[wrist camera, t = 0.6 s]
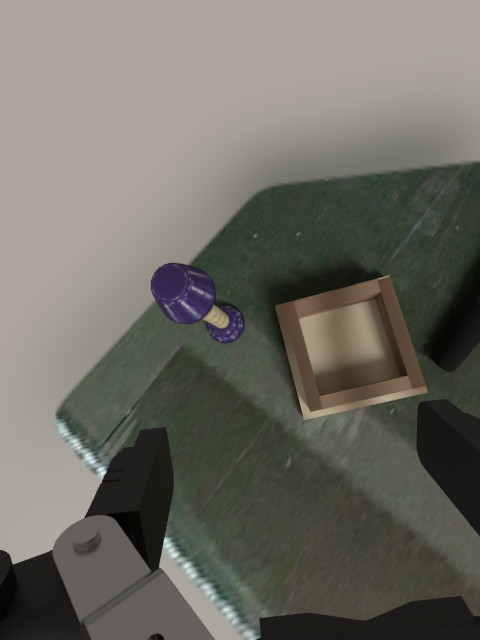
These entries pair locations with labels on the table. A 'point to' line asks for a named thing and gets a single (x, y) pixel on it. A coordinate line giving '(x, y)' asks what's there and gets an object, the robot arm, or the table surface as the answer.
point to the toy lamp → (195, 301)
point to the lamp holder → (349, 348)
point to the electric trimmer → (459, 334)
